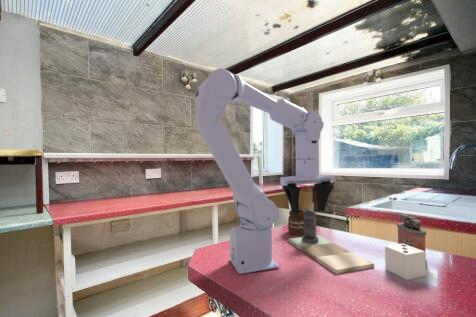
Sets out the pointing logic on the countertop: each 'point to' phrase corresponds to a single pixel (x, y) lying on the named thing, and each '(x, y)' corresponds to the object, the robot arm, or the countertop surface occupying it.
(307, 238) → the pawn
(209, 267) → the countertop surface
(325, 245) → the board
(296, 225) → the utensil holder
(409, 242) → the lighter
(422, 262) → the die
